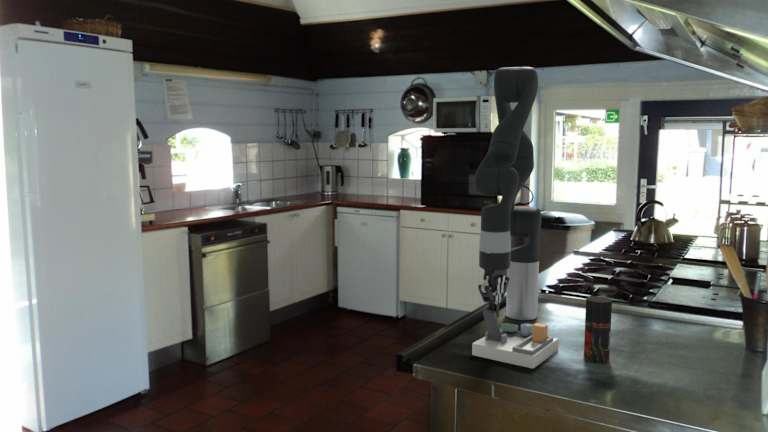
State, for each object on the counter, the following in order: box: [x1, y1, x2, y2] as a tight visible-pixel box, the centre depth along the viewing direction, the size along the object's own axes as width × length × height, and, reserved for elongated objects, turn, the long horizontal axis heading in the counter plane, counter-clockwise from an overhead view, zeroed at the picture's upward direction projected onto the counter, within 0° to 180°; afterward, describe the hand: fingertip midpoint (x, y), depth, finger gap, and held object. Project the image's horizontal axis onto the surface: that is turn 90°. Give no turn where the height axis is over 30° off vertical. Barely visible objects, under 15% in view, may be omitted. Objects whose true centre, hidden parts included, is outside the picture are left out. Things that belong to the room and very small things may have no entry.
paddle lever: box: [482, 308, 501, 342], centre depth 157 cm, size 1×3×9 cm, turn 54°
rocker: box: [500, 322, 519, 332], centre depth 166 cm, size 4×3×2 cm
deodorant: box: [583, 295, 613, 365], centre depth 154 cm, size 6×6×15 cm
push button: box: [519, 322, 533, 336], centre depth 164 cm, size 3×3×2 cm
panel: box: [471, 327, 559, 370], centre depth 160 cm, size 16×16×5 cm
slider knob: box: [532, 322, 549, 342], centre depth 159 cm, size 2×3×4 cm
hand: (493, 317), depth 157 cm, fingers closed
